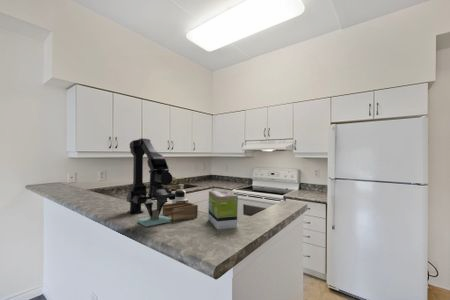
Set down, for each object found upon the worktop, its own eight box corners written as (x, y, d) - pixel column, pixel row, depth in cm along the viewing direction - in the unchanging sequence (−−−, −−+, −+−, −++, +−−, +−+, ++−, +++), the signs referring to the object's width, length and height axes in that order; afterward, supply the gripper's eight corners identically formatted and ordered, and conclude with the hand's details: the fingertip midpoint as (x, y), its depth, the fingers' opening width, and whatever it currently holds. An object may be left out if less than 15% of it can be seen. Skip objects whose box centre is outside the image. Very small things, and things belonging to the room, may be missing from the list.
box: (162, 217, 105) (162, 204, 105) (185, 212, 114) (185, 201, 115) (173, 222, 97) (174, 208, 97) (197, 217, 107) (197, 205, 107)
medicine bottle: (175, 213, 112) (176, 191, 113) (171, 210, 118) (172, 190, 119) (187, 212, 116) (188, 191, 117) (183, 209, 122) (184, 189, 123)
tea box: (207, 220, 103) (208, 190, 104) (225, 218, 106) (226, 190, 107) (216, 230, 89) (217, 195, 89) (237, 228, 92) (238, 195, 93)
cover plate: (137, 221, 95) (138, 210, 95) (161, 217, 103) (162, 206, 104) (145, 226, 89) (146, 214, 89) (170, 221, 97) (171, 210, 97)
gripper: (143, 186, 85) (141, 224, 84) (182, 183, 98) (180, 216, 97) (133, 183, 92) (131, 218, 92) (170, 181, 105) (169, 211, 105)
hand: (154, 216), depth 96 cm, fingers open, 3 cm apart
